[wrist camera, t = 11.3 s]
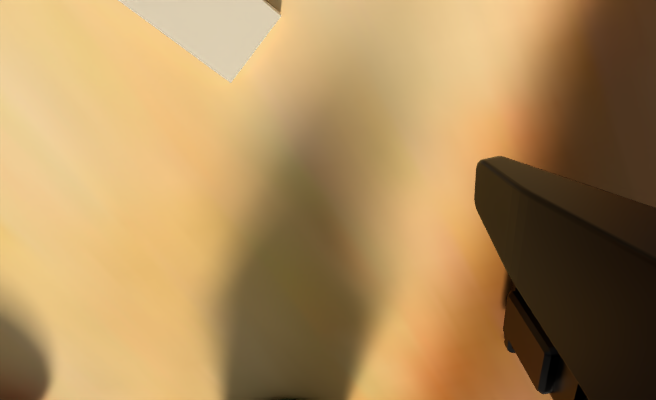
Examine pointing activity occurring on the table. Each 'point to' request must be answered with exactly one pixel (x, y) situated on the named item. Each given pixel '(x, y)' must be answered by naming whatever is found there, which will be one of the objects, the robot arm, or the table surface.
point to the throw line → (211, 28)
